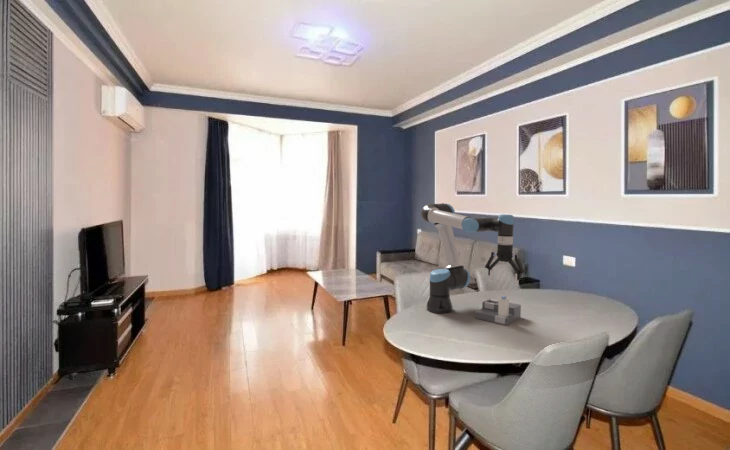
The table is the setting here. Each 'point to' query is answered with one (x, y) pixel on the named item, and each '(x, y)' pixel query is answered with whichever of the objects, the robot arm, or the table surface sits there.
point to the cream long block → (503, 307)
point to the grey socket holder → (491, 312)
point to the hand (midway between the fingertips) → (503, 283)
